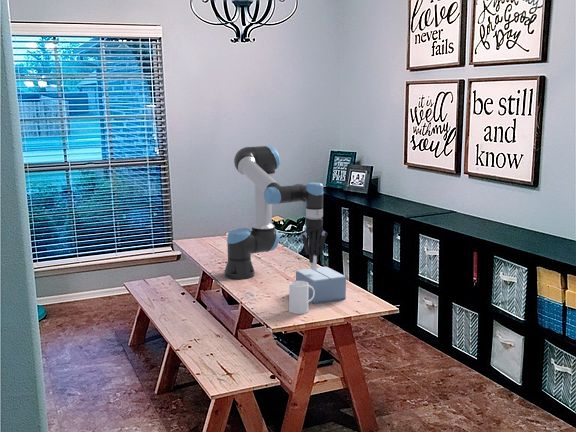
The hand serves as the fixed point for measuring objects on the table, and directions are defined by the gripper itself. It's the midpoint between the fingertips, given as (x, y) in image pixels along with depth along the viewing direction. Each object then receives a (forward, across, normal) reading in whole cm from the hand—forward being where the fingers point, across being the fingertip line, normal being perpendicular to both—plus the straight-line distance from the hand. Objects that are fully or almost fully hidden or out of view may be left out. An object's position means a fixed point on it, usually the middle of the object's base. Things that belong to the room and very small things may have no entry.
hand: (313, 269), depth 271 cm
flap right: (+3, +8, 0) cm, 8 cm away
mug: (+13, -12, -14) cm, 23 cm away
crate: (+13, +4, 0) cm, 13 cm away
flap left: (+3, -1, 0) cm, 3 cm away
